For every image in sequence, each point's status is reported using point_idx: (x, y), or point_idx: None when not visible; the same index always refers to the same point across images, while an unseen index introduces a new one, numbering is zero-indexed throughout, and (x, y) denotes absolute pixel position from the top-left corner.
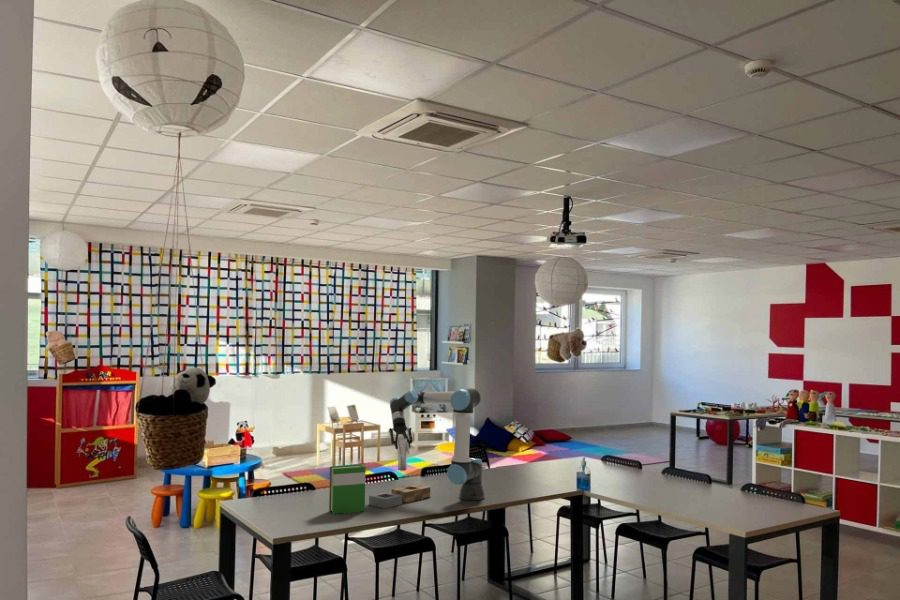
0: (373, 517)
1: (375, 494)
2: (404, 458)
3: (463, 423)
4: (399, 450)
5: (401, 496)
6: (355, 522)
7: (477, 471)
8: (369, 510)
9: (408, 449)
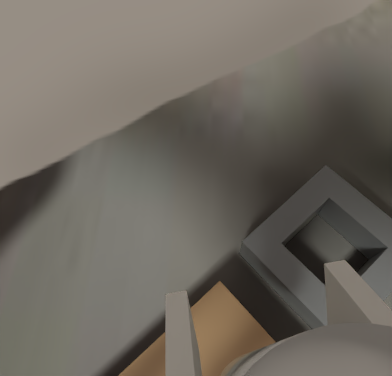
0: (337, 66)
1: None
2: (243, 355)
3: None
4: (342, 277)
5: (243, 241)
6: (387, 17)
7: None
8: (376, 158)
9: (180, 318)
